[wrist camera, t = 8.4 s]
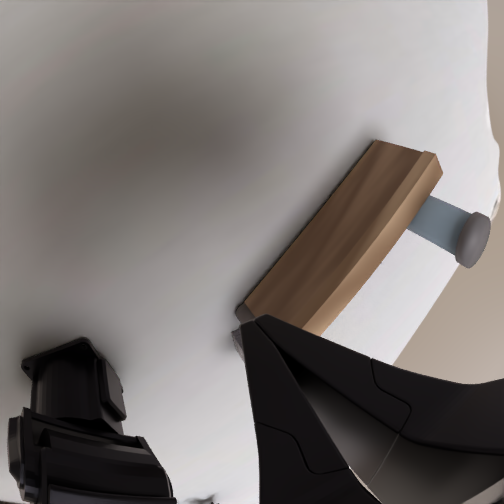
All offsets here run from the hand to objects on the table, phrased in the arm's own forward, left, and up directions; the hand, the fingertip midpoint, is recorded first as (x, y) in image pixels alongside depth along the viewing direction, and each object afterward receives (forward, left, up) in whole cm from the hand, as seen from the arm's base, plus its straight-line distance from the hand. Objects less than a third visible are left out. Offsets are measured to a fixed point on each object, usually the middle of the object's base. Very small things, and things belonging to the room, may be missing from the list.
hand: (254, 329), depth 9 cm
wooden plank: (+10, -5, -12) cm, 16 cm away
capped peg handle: (+16, -4, -12) cm, 20 cm away
